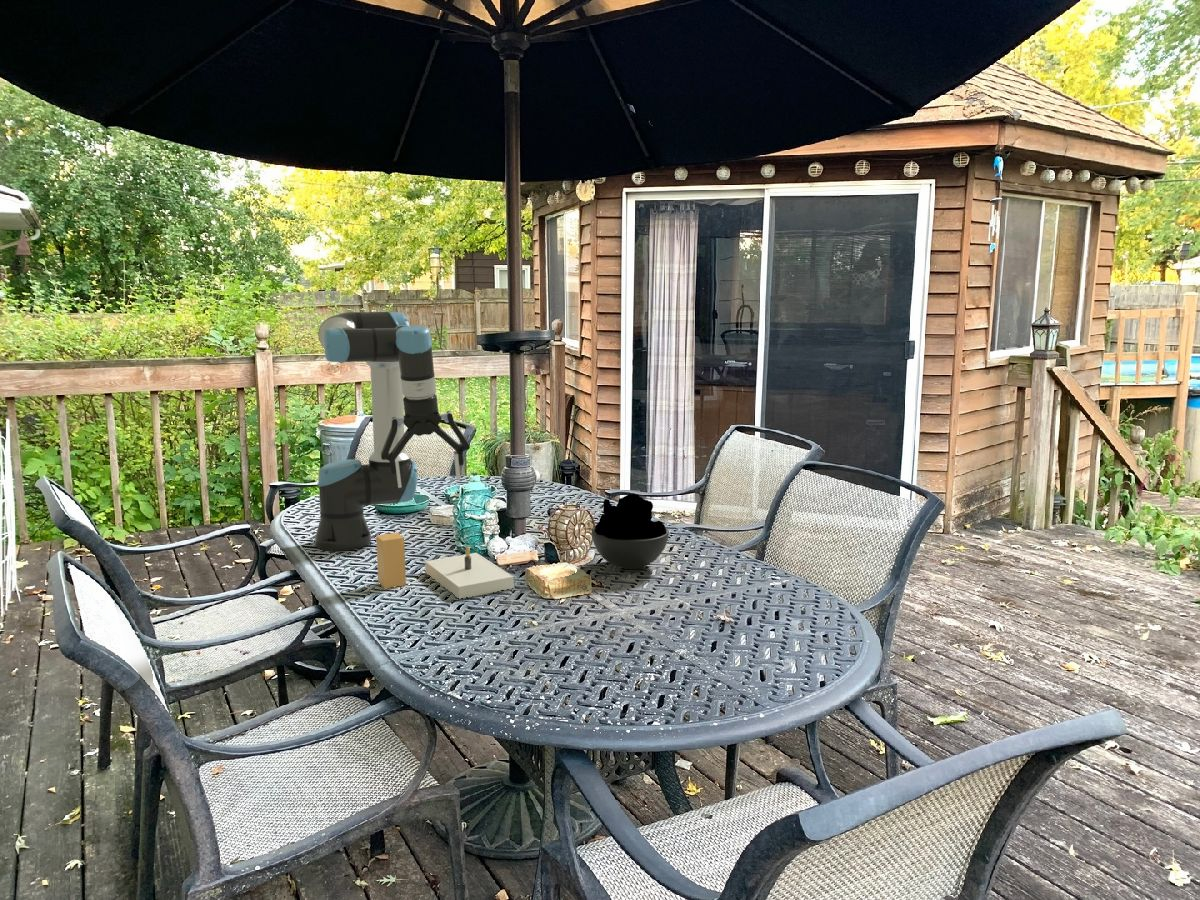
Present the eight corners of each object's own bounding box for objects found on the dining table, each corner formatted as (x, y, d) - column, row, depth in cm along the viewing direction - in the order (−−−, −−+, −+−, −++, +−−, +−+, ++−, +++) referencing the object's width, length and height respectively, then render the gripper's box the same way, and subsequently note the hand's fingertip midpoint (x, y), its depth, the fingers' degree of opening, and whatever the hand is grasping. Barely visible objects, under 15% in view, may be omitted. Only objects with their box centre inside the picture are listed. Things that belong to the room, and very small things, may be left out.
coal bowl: (668, 556, 224) (670, 489, 220) (667, 581, 204) (669, 507, 201) (595, 554, 225) (595, 487, 222) (587, 578, 206) (587, 505, 202)
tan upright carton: (378, 582, 202) (376, 535, 199) (398, 579, 204) (397, 532, 202) (384, 589, 197) (382, 540, 195) (405, 585, 200) (404, 537, 198)
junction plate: (425, 572, 209) (424, 540, 208) (476, 563, 217) (475, 532, 215) (459, 599, 191) (458, 564, 189) (513, 588, 198) (513, 554, 197)
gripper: (363, 405, 180) (375, 494, 188) (476, 393, 186) (484, 480, 194) (362, 396, 187) (374, 482, 194) (472, 385, 193) (479, 469, 201)
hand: (429, 481), depth 194 cm, fingers open, 13 cm apart
